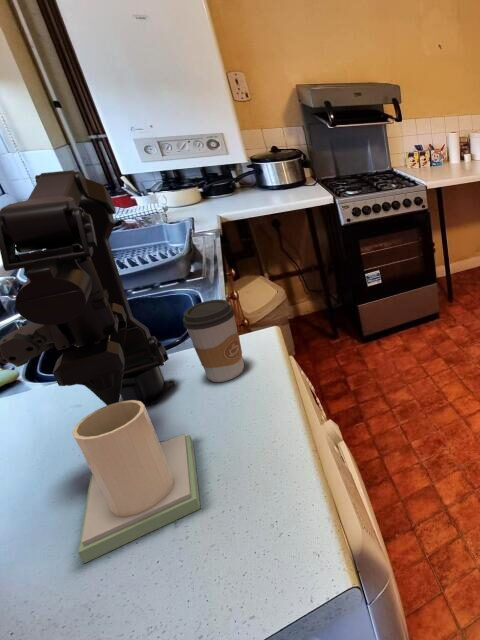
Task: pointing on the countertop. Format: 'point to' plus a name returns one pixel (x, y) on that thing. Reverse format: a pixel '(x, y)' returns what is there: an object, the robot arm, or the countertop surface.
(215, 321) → the coffee cup
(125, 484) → the cream cup
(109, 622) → the countertop surface
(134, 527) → the kitchen scale
